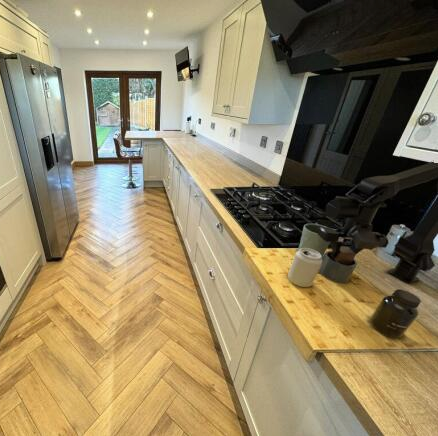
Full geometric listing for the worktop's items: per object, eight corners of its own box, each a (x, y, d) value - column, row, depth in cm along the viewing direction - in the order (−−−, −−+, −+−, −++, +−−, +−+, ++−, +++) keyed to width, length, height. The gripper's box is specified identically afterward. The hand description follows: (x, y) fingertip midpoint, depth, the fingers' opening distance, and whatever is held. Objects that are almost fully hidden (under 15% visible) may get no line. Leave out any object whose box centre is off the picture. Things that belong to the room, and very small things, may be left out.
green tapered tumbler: (329, 262, 92) (341, 236, 87) (303, 261, 92) (314, 235, 87) (313, 248, 102) (323, 223, 96) (290, 247, 102) (298, 222, 96)
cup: (329, 264, 91) (336, 249, 88) (354, 279, 84) (363, 263, 81) (312, 268, 88) (319, 253, 85) (337, 284, 81) (345, 268, 78)
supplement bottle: (390, 341, 61) (415, 308, 56) (362, 320, 67) (382, 288, 62) (408, 336, 63) (433, 303, 58) (379, 315, 69) (400, 284, 64)
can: (289, 271, 86) (299, 243, 81) (313, 280, 82) (325, 252, 77) (284, 281, 81) (295, 252, 76) (309, 292, 77) (323, 262, 72)
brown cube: (343, 257, 85) (348, 246, 83) (350, 264, 81) (356, 253, 79) (330, 255, 85) (334, 245, 83) (336, 262, 82) (341, 252, 80)
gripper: (342, 225, 70) (323, 268, 77) (414, 233, 67) (387, 275, 74) (324, 211, 80) (308, 249, 87) (385, 216, 77) (364, 255, 84)
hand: (341, 257), depth 83 cm, fingers closed on brown cube, 4 cm apart
